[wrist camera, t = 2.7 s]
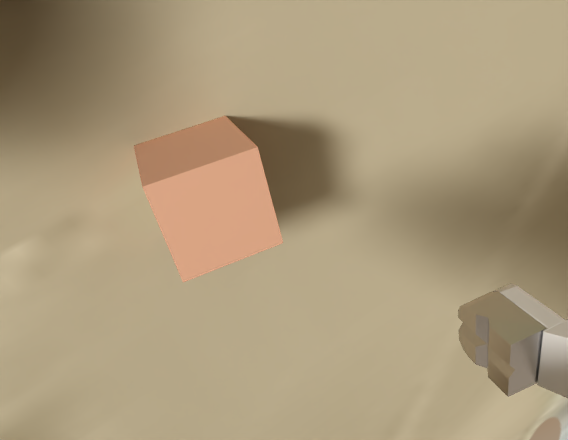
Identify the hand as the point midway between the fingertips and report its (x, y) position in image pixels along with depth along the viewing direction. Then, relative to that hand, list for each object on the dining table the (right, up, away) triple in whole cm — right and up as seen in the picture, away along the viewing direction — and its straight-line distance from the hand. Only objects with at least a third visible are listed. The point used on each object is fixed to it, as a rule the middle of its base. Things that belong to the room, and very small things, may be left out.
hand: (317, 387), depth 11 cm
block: (-6, +7, +14) cm, 17 cm away
